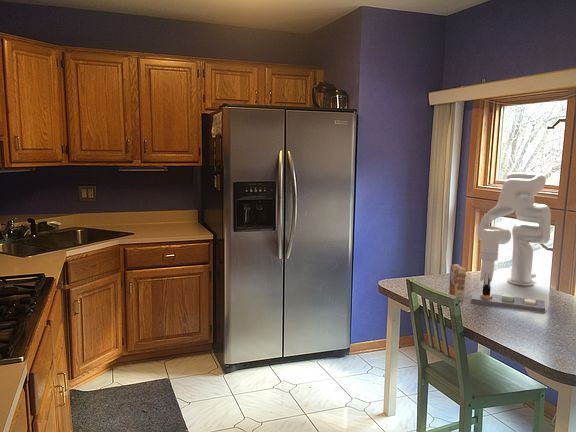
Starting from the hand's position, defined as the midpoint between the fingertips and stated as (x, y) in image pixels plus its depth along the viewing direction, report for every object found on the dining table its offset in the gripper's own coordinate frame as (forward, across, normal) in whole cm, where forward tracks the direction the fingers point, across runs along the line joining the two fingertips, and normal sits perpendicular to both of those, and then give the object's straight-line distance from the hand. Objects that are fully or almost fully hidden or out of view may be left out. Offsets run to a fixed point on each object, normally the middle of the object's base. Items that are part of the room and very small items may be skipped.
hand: (486, 294), depth 220 cm
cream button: (+2, 0, +18) cm, 18 cm away
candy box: (+3, +1, -13) cm, 13 cm away
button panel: (+3, 0, +9) cm, 10 cm away
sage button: (+1, 0, +9) cm, 9 cm away
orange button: (+2, 0, 0) cm, 2 cm away
